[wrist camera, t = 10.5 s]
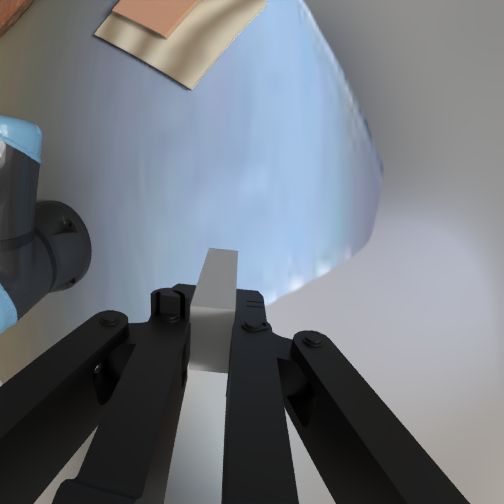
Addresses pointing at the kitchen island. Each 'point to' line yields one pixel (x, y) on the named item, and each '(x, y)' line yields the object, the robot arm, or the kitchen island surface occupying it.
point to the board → (185, 38)
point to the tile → (156, 13)
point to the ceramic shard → (11, 12)
